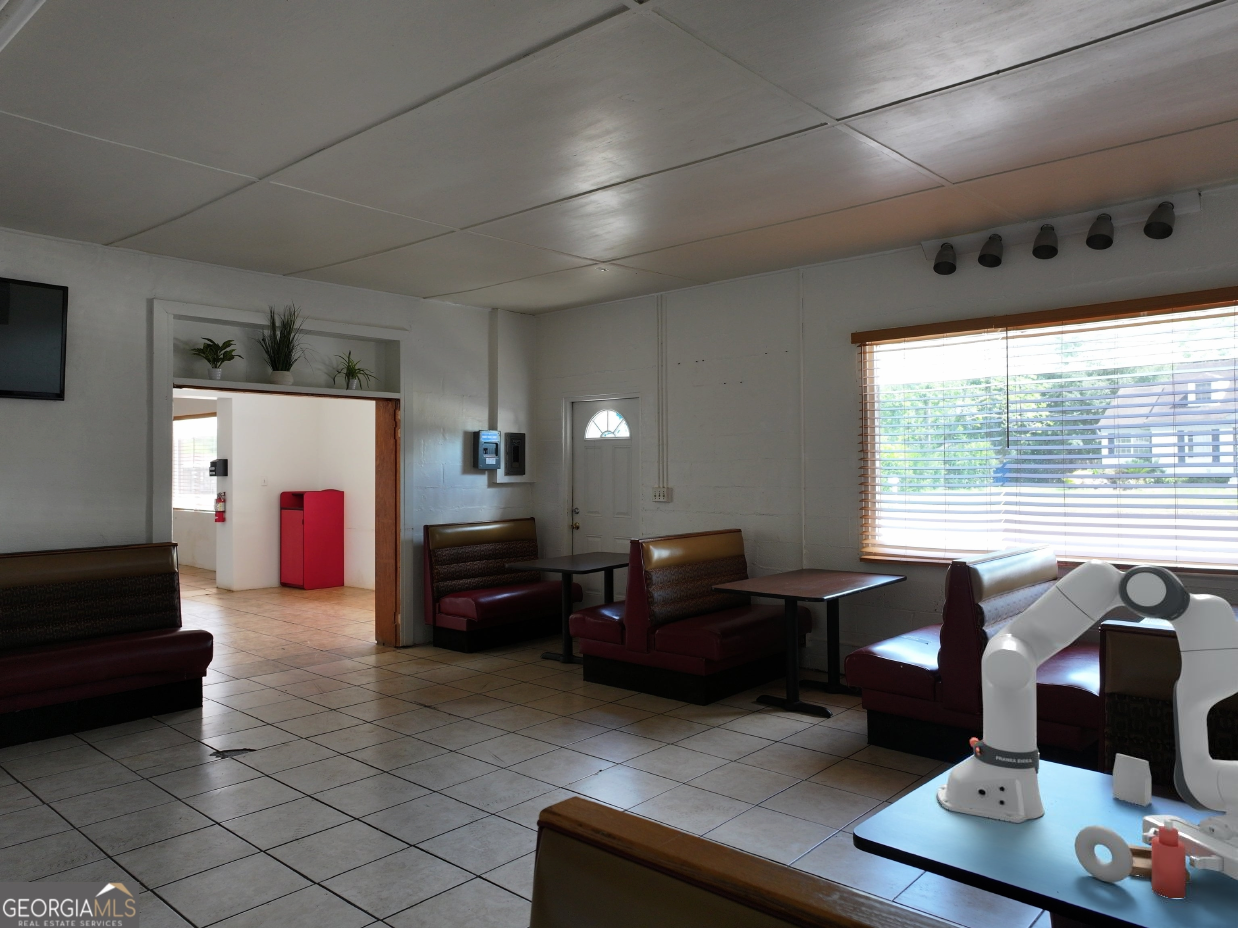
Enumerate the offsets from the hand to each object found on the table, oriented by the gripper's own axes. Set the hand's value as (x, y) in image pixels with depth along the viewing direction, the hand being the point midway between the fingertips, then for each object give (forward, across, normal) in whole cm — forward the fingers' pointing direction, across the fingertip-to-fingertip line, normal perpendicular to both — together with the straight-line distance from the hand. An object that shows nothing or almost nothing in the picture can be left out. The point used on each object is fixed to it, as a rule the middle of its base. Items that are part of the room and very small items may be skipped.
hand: (1168, 851), depth 152 cm
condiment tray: (-6, -8, +8) cm, 12 cm away
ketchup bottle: (0, 0, +8) cm, 8 cm away
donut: (+8, -7, +8) cm, 13 cm away
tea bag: (-31, -35, +8) cm, 47 cm away
